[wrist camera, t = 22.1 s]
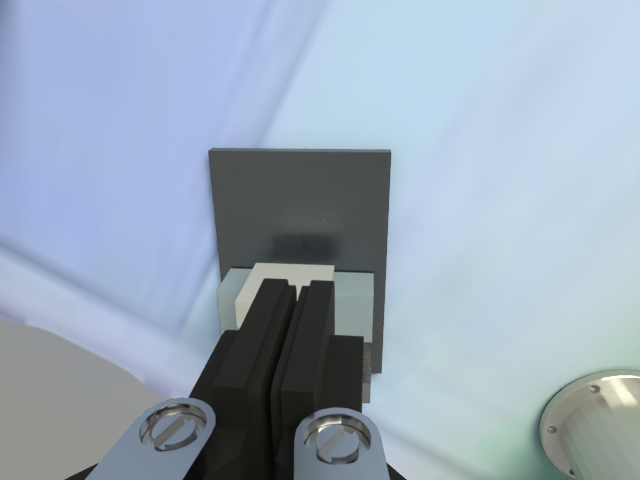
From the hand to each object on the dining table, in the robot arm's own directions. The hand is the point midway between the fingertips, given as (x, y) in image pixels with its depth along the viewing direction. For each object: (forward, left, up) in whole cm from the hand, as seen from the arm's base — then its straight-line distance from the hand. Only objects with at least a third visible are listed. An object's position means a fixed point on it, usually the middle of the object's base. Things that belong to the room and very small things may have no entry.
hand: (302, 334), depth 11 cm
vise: (+4, +11, -27) cm, 29 cm away
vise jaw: (+4, +12, -26) cm, 29 cm away
